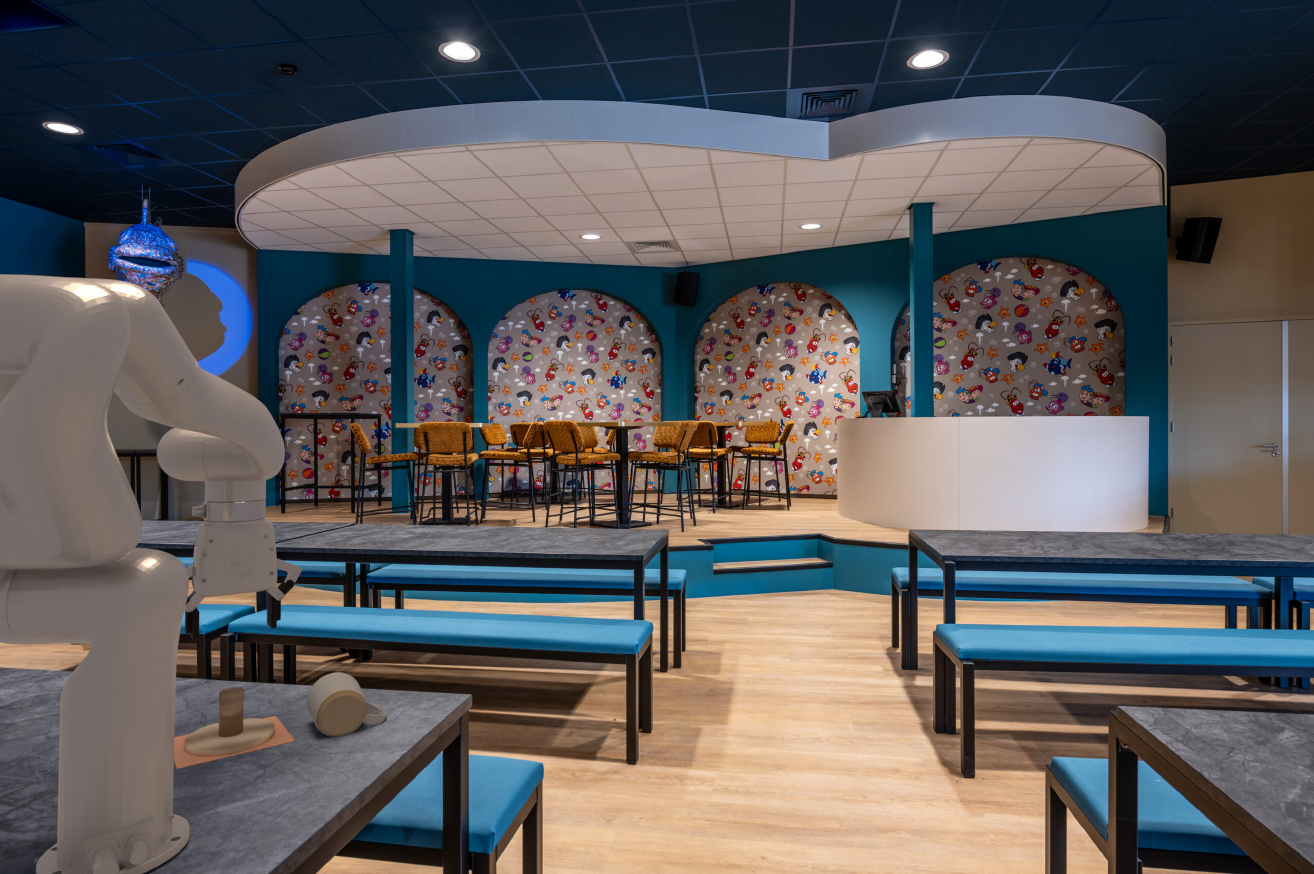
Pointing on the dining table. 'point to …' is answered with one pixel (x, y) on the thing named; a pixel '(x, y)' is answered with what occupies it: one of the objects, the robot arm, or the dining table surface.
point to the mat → (186, 759)
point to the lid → (229, 729)
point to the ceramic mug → (341, 705)
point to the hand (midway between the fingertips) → (234, 631)
